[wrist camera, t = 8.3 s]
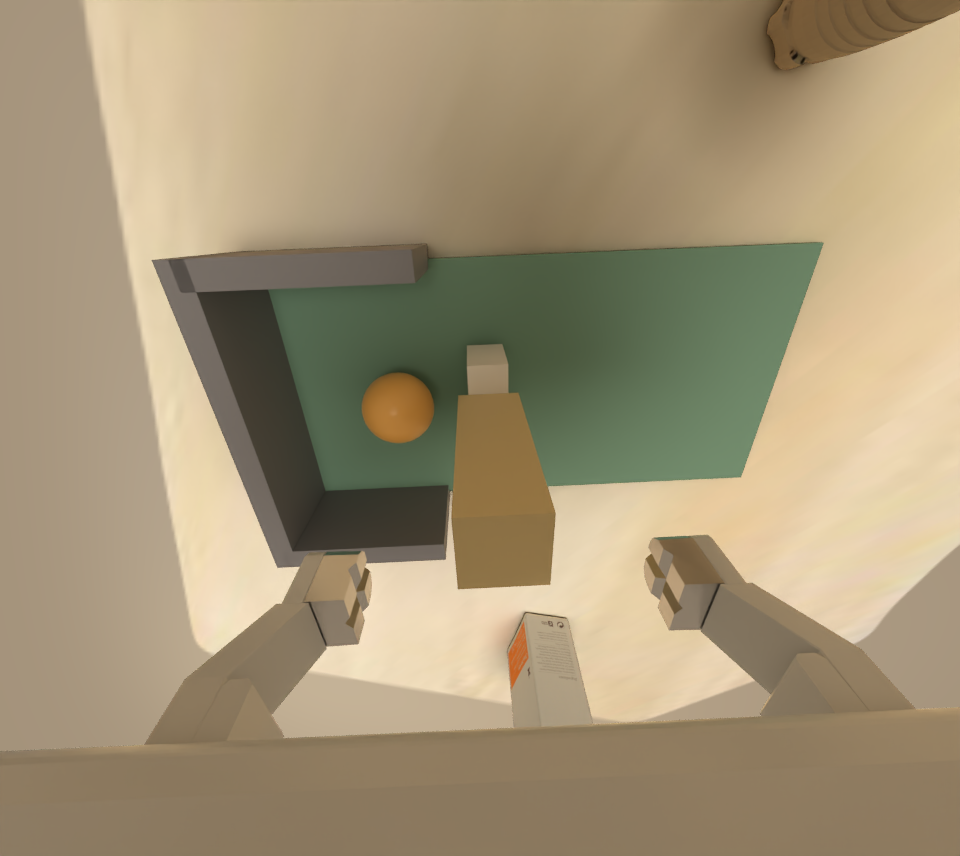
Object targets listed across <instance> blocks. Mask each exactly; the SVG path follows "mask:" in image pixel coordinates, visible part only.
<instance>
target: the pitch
mask: <svg viewBox="0 0 960 856" xmlns="http://www.w3.org/2000/svg"><path fill="white" fill-rule="evenodd" d="M822 246H823V243H820V242H815V243H791V244H767V245H743V246H718V247H694V248H670V249H646V250H622V251H598V252H574V253H550V254H526V255H502V256H478V257H454V258H429V259H427V260H428V270H427V271H426V272H425V273H424V275H423V276H422V277H421V278H420V279H419V280H418V281H417V282H416V283H406V284H382V285H358V286H334V287H311V288H287V289H268V291H269V294H270V298H271V301H272V305H273V308H274V312H275V315H276V319H277V322H278V326H279V329H280V333H281V336H282V340H283V343H284V347H285V350H286V354H287V357H288V361H289V364H290V368H291V371H292V375H293V379H294V382H295V386H296V389H297V393H298V396H299V400H300V403H301V407H302V410H303V414H304V417H305V421H306V424H307V428H308V431H309V435H310V438H311V442H312V445H313V449H314V452H315V456H316V459H317V463H318V466H319V470H320V473H321V477H322V480H323V484H324V487H325V491H333V490H355V489H376V488H398V487H419V486H440V485H448V486H449V491H453V482H454V465H455V447H456V429H457V411H458V395H468V378H467V345H489V344H502V345H503V348H504V351H505V355H506V358H507V361H508V393H519V396H520V399H521V403H522V406H523V409H524V412H525V416H526V419H527V422H528V425H529V429H530V432H531V435H532V438H533V442H534V445H535V448H536V451H537V455H538V458H539V461H540V464H541V468H542V471H543V474H544V477H545V480H546V484H547V486H563V485H585V484H606V483H628V482H649V481H670V480H692V479H713V478H734V477H741V475H742V473H743V470H744V467H745V464H746V461H747V458H748V456H749V453H750V450H751V447H752V444H753V441H754V439H755V436H756V433H757V430H758V427H759V424H760V422H761V419H762V416H763V413H764V410H765V407H766V405H767V402H768V399H769V396H770V393H771V391H772V388H773V385H774V382H775V379H776V376H777V374H778V371H779V368H780V365H781V362H782V359H783V357H784V354H785V351H786V348H787V345H788V342H789V340H790V337H791V334H792V331H793V328H794V325H795V323H796V320H797V317H798V314H799V311H800V308H801V306H802V303H803V300H804V297H805V294H806V292H807V289H808V286H809V283H810V280H811V277H812V275H813V272H814V269H815V266H816V263H817V260H818V258H819V255H820V252H821V249H822ZM396 372H400V373H407V374H410V375H412V376H414V377H416V378H418V379H419V380H421V381H422V382H423V383H424V384H425V385H426V386H427V388H428V389H429V391H430V393H431V395H432V398H433V402H434V415H433V419H432V421H431V424H430V425H429V427H428V429H427V430H426V431H425V432H424V433H423V434H422V435H421V436H420V437H418V438H416V439H415V440H412V441H410V442H406V443H391V442H387V441H384V440H382V439H380V438H378V437H377V436H375V435H374V434H373V433H372V432H371V431H370V430H369V428H368V427H367V425H366V423H365V421H364V419H363V415H362V400H363V396H364V394H365V392H366V390H367V388H368V387H369V386H370V384H371V383H372V382H373V381H375V380H376V379H377V378H379V377H381V376H383V375H385V374H388V373H396Z"/></svg>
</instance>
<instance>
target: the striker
mask: <svg viewBox="0 0 960 856" xmlns="http://www.w3.org/2000/svg"><path fill="white" fill-rule="evenodd" d="M467 378H468V395H458V411H457V429H456V447H455V465H454V482H453V500H452V529H453V540H454V550H455V561H456V572H457V583H458V589H470V588H491V587H511V586H532V585H550V581H551V567H552V554H553V541H554V527H555V514H556V513H555V510H554V506H553V503H552V500H551V497H550V493H549V490H548V487H547V484H546V480H545V477H544V474H543V471H542V468H541V464H540V461H539V458H538V455H537V451H536V448H535V445H534V442H533V438H532V435H531V432H530V429H529V425H528V422H527V419H526V416H525V412H524V409H523V406H522V403H521V399H520V396H519V393H508V361H507V358H506V355H505V351H504V348H503V345H502V344H489V345H467Z"/></svg>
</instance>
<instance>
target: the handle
mask: <svg viewBox="0 0 960 856" xmlns="http://www.w3.org/2000/svg"><path fill="white" fill-rule="evenodd" d="M959 10H960V0H783V2H782V4H781V6H780V7H779V9H778V10H777V12H776V13H775V14H774V15H773V16H771V18H770V19H769V23H768V29H767V35H769V36H770V38H771V39H772V42H773V44H774V48H775V60H774V61H775V64H776V65H777V66H778V67H779V68H780V69H783V70H788V69H792V68H795V67H798V66H801V65H803V64H804V63H805V62H809V63H811V64H814V63H819V62H823V61H826V60H829V59H833V58H838V57H842V56H846V55H850V54H853V53H856V52H859V51H862V50H865V49H868V48H870V47H873V46H876V45H879V44H881V43H884V42H887V41H889V40H892V39H895V38H897V37H900V36H903V35H905V34H907V33H910V32H912V31H914V30H917V29H919V28H921V27H923V26H925V25H928V24H930V23H933V22H935V21H937V20H939V19H942V18H944V17H946V16H948V15H950V14H953V13H955V12H957V11H959Z"/></svg>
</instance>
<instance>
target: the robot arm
mask: <svg viewBox="0 0 960 856" xmlns="http://www.w3.org/2000/svg"><path fill="white" fill-rule="evenodd" d="M648 548H649V549H650V551H651V553H652V554H650V555H649V556H648V557H647V558H646V559H645V564H644V575H645V580H646V583H647V586H648V588H649V590H650V592H651V593H652V594H653V595H654V596H656V597H657V598H658V599H659V600H660V601H659V605H658V609H659V611H660V613H661V615H662V617H663V619H664V621H665V623H666V625H667V627H668V629H669V630H701V632H702V633H703V634H704V635H706V636H707V637H708V638H709V639H710V640H711V641H712V642H713V643H714V644H716V645H717V646H718V647H719V648H720V649H721V650H722V651H723V652H724V653H726V654H727V655H728V656H729V657H730V658H731V659H732V660H733V661H734V662H736V663H737V664H738V665H739V666H740V667H741V668H742V669H743V670H744V671H746V672H747V673H748V674H749V675H750V676H751V677H752V678H753V679H754V680H755V681H757V682H758V683H759V684H760V685H761V686H762V687H763V688H764V689H765V690H767V691H768V692H769V693H770V694H771V695H770V697H769V698H768V700H767V701H766V703H765V704H764V706H763V708H762V710H761V713H760V715H761V716H760V717H738V718H718V719H717V718H716V719H695V720H672V721H652V722H651V721H650V722H628V723H606V724H583V725H561V726H540V727H518V728H497V729H477V730H476V729H475V730H455V731H432V732H411V733H389V734H368V735H346V736H325V737H302V738H283V737H284V735H283V733H282V731H281V729H280V727H279V726H278V724H277V723H276V721H275V719H274V718H273V716H272V714H273V712H274V711H275V710H276V709H277V708H278V706H279V705H280V704H281V703H282V702H283V700H284V699H285V698H286V697H287V696H288V694H289V693H290V692H291V691H292V690H293V688H294V687H295V686H296V685H297V684H298V682H299V681H300V680H301V679H302V678H303V676H304V675H305V674H306V673H307V672H308V670H309V669H310V668H311V667H312V666H313V664H314V663H315V662H316V661H317V659H318V658H319V657H320V656H321V655H322V653H323V652H324V651H325V650H326V647H327V646H340V645H353V644H359V640H360V636H361V632H362V629H363V625H364V621H365V620H364V617H363V613H362V612H363V611H364V610H365V609H366V608H367V607H368V606H369V602H370V598H371V589H372V580H371V574H370V571H369V570H368V569H367V568H365V565H366V561H367V559H366V555H365V552H363V551H337V552H309V553H308V554H307V555H306V556H305V557H304V559H303V562H302V564H301V566H300V568H299V570H298V572H297V574H296V576H295V578H294V580H293V582H292V584H291V586H290V588H289V590H288V592H287V594H286V596H285V598H284V600H283V602H282V604H276V605H275V606H273V607H272V608H271V609H270V610H269V611H267V612H266V613H265V614H264V615H262V616H261V617H260V618H259V619H258V620H256V621H255V622H254V623H253V624H251V625H250V626H249V627H248V628H247V629H245V630H244V631H243V632H242V633H241V634H239V635H238V636H237V637H236V638H234V639H233V640H232V641H231V642H230V643H228V644H227V645H226V646H225V647H223V648H222V649H221V650H220V651H219V652H217V653H216V654H215V655H214V656H213V657H211V658H210V659H209V660H208V661H206V662H205V663H204V664H203V665H202V666H201V667H199V668H198V669H197V670H195V671H194V672H193V673H192V674H191V675H189V676H188V677H187V678H186V679H185V680H184V681H183V683H182V685H181V686H180V688H179V689H178V691H177V693H176V694H175V696H174V697H173V699H172V701H171V702H170V704H169V705H168V707H167V709H166V710H165V712H164V714H163V715H162V717H161V718H160V720H159V722H158V724H157V725H156V726H155V728H154V730H153V731H152V733H151V734H150V736H149V738H148V739H147V741H146V743H145V744H144V745H132V746H108V747H87V748H64V749H41V750H19V751H0V856H960V707H952V708H931V709H915V708H914V706H913V705H912V704H911V703H910V702H909V701H908V700H907V699H906V698H905V697H904V695H903V694H902V693H901V692H900V691H899V690H898V689H897V688H896V687H895V686H894V685H893V684H892V682H891V681H890V680H889V679H888V678H887V677H886V676H885V675H884V674H883V673H882V671H881V670H880V669H879V668H878V667H877V666H876V665H875V664H874V662H873V661H872V660H871V659H870V658H869V657H868V656H867V655H866V654H865V652H864V651H863V650H862V649H860V648H859V647H857V646H855V645H854V644H852V643H850V642H849V641H847V640H845V639H844V638H842V637H840V636H839V635H837V634H836V633H834V632H832V631H831V630H829V629H827V628H826V627H824V626H822V625H821V624H819V623H817V622H816V621H814V620H812V619H811V618H809V617H807V616H806V615H804V614H803V613H801V612H799V611H798V610H796V609H794V608H793V607H791V606H789V605H788V604H786V603H784V602H783V601H781V600H779V599H778V598H776V597H775V596H773V595H771V594H770V593H768V592H766V591H765V590H763V589H761V588H760V587H758V586H756V585H755V584H753V583H746V582H745V580H744V579H743V578H742V577H741V575H740V574H739V573H738V571H737V570H736V569H735V567H734V566H733V565H732V564H731V562H730V561H729V560H728V558H727V557H726V556H725V554H724V553H723V552H722V551H721V549H720V548H719V547H718V545H717V544H716V543H715V541H714V540H713V539H712V538H711V537H710V536H708V535H696V536H675V537H657V538H653V539H652V540H651V541H650V544H649V547H648Z"/></svg>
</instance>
